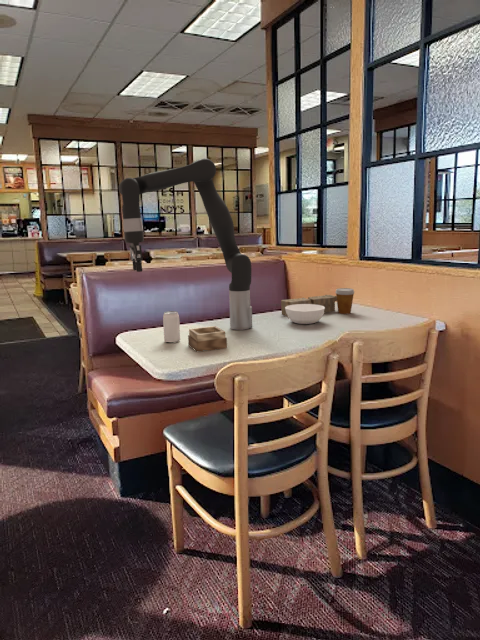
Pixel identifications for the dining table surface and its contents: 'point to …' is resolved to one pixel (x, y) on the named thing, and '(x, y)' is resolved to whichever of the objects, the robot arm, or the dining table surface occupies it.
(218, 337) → the square wooden tray
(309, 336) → the dining table surface
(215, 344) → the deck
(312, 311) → the bowl
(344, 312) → the disposable coffee cup
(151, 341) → the dining table surface
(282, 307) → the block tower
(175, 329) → the can
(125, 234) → the robot arm
